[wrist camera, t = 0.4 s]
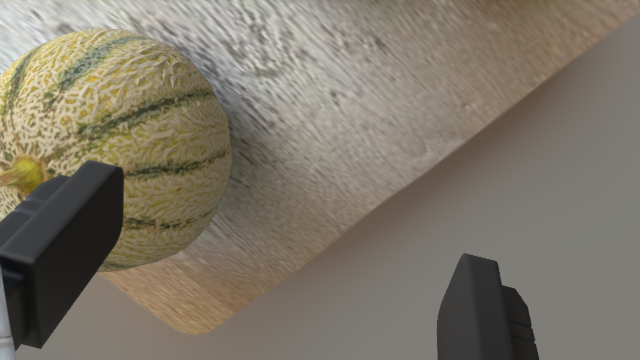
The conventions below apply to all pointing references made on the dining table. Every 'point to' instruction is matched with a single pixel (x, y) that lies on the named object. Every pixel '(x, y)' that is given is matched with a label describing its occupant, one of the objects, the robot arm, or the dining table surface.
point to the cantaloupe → (118, 134)
